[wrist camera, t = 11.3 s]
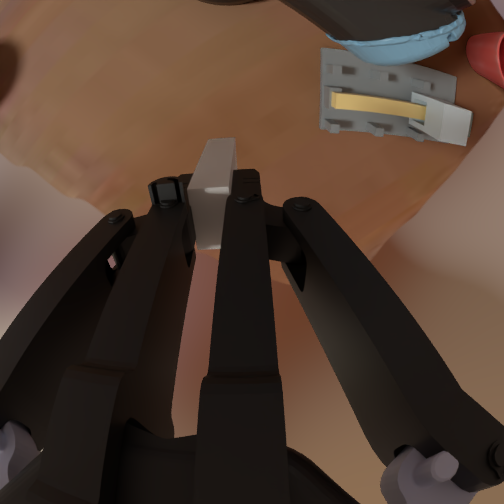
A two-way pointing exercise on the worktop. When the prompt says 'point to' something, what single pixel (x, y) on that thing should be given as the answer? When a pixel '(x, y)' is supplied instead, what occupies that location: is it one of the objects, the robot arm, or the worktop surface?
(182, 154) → the worktop surface
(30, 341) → the robot arm
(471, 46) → the flower pot
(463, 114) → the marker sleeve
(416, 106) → the cable comb
